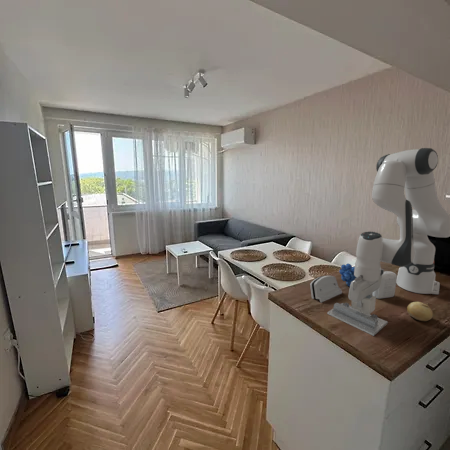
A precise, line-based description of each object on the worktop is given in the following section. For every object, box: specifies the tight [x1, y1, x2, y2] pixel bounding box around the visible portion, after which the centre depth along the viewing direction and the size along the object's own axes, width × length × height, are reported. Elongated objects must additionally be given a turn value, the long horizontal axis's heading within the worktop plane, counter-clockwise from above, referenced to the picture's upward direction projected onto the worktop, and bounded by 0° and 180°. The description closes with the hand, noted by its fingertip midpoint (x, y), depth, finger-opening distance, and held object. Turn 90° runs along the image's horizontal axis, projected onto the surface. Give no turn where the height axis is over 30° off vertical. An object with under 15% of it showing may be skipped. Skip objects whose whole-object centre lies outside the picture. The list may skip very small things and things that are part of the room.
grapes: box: [338, 263, 357, 287], centre depth 124 cm, size 12×7×12 cm, turn 34°
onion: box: [406, 301, 434, 322], centre depth 97 cm, size 8×8×7 cm
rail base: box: [327, 302, 389, 337], centre depth 98 cm, size 12×18×4 cm, turn 37°
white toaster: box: [309, 275, 343, 303], centre depth 117 cm, size 17×5×10 cm, turn 122°
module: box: [350, 294, 377, 315], centre depth 100 cm, size 5×7×6 cm
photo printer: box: [372, 270, 398, 299], centre depth 114 cm, size 10×4×12 cm, turn 103°
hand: (363, 304), depth 100 cm, fingers closed on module, 5 cm apart
